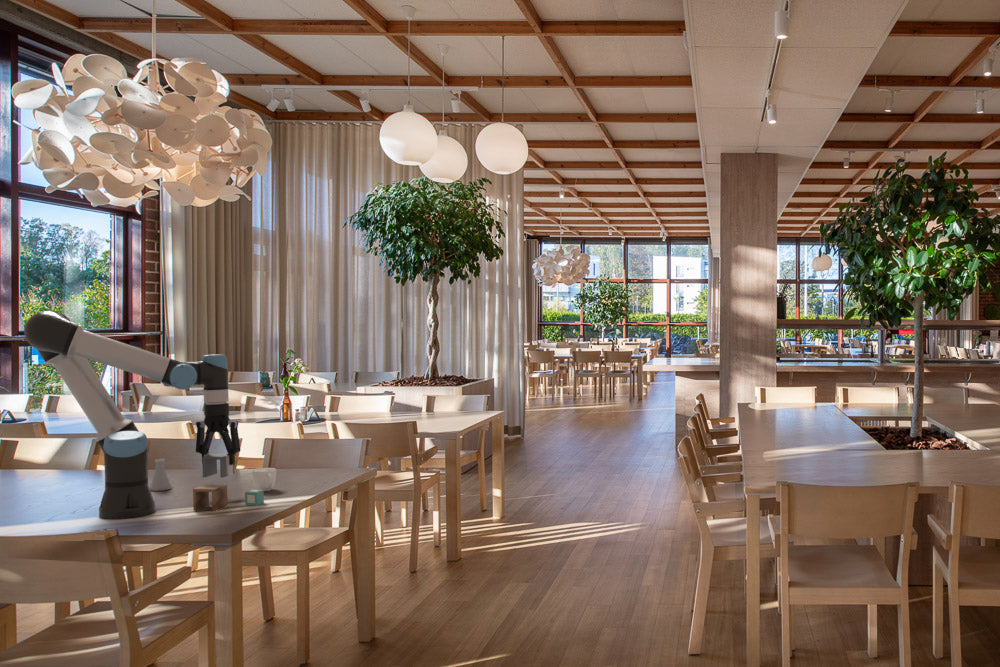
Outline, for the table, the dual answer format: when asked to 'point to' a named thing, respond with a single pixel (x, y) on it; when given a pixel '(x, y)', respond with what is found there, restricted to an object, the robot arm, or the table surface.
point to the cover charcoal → (214, 464)
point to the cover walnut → (203, 496)
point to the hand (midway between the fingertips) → (218, 474)
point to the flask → (160, 477)
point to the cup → (264, 478)
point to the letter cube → (254, 497)
